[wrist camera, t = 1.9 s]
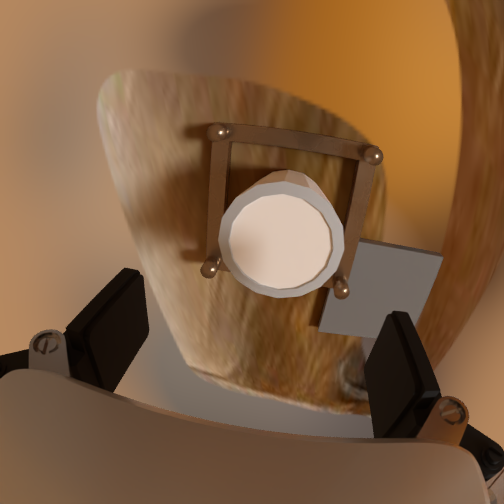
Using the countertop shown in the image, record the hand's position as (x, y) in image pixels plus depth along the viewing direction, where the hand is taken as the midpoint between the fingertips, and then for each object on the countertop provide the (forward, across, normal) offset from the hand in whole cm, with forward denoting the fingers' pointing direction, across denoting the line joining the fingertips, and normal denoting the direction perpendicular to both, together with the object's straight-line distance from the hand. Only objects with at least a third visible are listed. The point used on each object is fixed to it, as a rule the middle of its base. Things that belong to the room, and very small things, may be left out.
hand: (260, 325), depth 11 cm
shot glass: (+13, 0, -1) cm, 13 cm away
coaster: (+13, -9, +5) cm, 17 cm away
